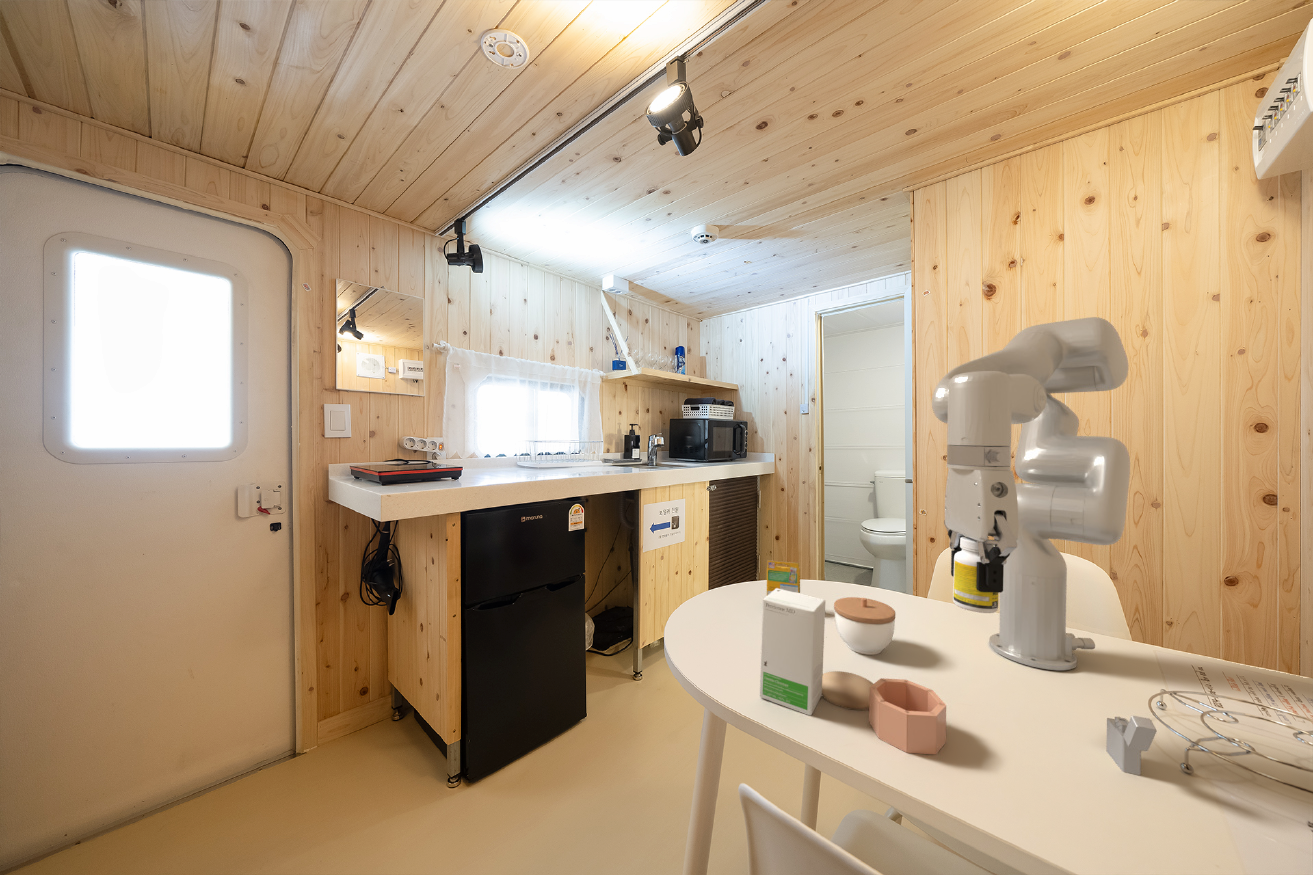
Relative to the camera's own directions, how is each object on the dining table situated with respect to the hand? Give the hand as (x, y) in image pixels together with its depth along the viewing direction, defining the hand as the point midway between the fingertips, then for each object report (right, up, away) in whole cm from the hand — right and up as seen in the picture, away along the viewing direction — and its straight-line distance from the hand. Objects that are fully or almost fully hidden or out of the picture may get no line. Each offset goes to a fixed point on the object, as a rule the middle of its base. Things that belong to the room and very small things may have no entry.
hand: (975, 582), depth 66 cm
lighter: (+12, -20, -10) cm, 25 cm away
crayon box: (-17, -19, +40) cm, 47 cm away
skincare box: (-25, -20, +5) cm, 32 cm away
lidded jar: (-6, -19, +22) cm, 30 cm away
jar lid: (-16, -19, +7) cm, 26 cm away
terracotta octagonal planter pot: (-12, -20, -3) cm, 23 cm away
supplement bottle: (0, -4, 0) cm, 4 cm away
